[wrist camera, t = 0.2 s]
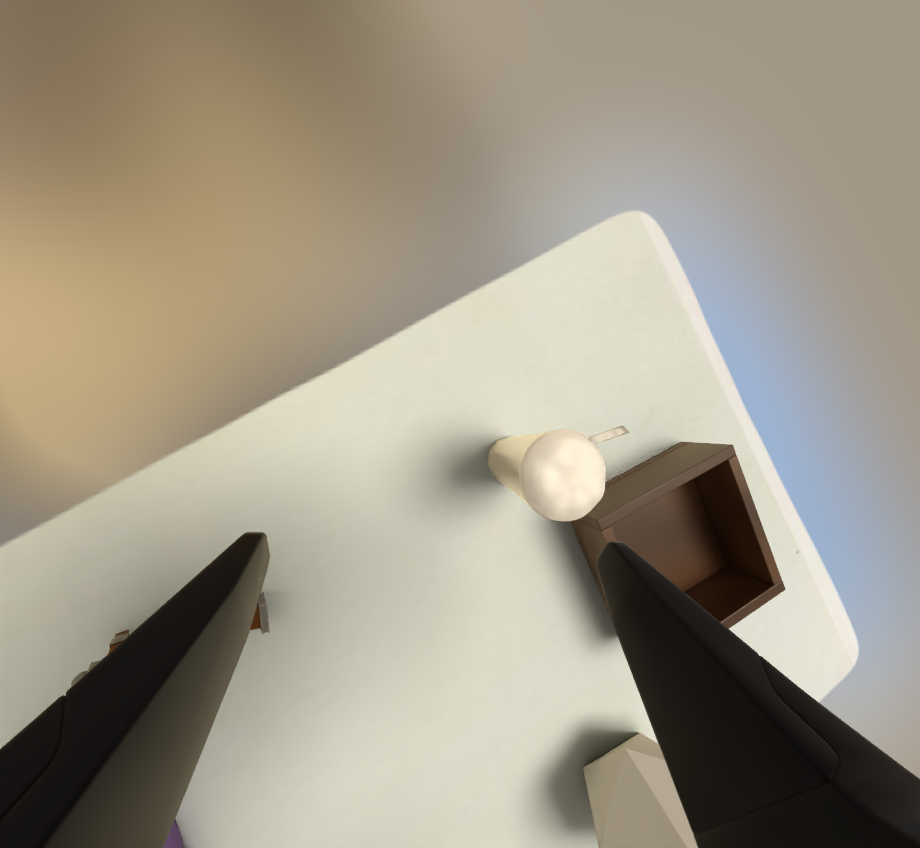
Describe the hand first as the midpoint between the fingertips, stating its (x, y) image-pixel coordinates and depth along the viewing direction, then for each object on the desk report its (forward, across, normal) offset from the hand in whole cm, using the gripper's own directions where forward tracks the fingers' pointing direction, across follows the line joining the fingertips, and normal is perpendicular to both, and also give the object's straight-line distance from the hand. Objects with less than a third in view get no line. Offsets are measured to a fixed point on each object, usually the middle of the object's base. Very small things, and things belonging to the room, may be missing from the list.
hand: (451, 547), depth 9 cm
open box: (+10, -19, +12) cm, 25 cm away
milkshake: (+13, -7, +7) cm, 17 cm away
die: (0, -18, +27) cm, 32 cm away
